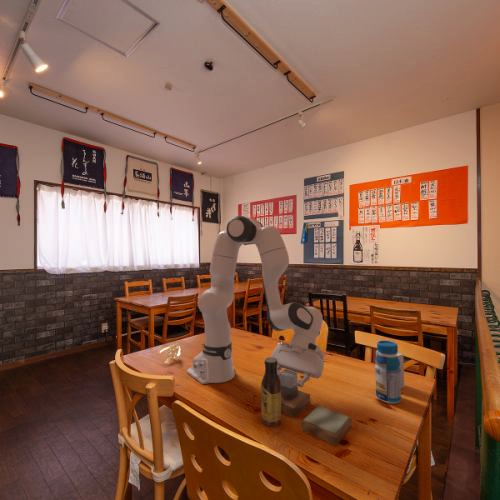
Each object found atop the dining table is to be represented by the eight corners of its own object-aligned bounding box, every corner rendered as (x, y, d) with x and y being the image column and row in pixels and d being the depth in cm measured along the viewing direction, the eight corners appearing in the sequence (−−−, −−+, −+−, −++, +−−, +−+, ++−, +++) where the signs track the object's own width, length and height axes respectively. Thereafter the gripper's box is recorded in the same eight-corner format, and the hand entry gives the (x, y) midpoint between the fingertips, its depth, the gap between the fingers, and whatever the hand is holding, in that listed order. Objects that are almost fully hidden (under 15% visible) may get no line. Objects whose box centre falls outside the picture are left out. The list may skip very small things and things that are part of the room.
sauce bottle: (260, 416, 90) (259, 355, 90) (279, 415, 91) (278, 354, 91) (263, 428, 84) (262, 363, 84) (283, 427, 84) (282, 362, 84)
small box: (404, 387, 107) (404, 354, 108) (393, 391, 105) (393, 357, 105) (386, 379, 115) (385, 348, 115) (375, 382, 112) (375, 350, 112)
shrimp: (156, 370, 134) (152, 355, 131) (171, 348, 147) (168, 334, 144) (177, 372, 131) (173, 357, 128) (191, 350, 144) (187, 336, 141)
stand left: (266, 405, 96) (266, 397, 96) (284, 393, 105) (284, 385, 105) (294, 417, 89) (293, 408, 89) (310, 403, 98) (310, 394, 98)
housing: (279, 395, 97) (279, 373, 97) (285, 391, 100) (285, 369, 100) (291, 400, 94) (291, 377, 94) (297, 395, 97) (297, 373, 97)
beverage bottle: (400, 407, 94) (399, 348, 94) (373, 400, 99) (372, 344, 99) (402, 396, 101) (401, 341, 101) (377, 390, 106) (376, 338, 106)
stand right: (301, 429, 83) (301, 419, 83) (318, 413, 91) (317, 404, 91) (336, 446, 76) (336, 435, 76) (351, 426, 84) (351, 416, 84)
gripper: (275, 337, 109) (260, 370, 102) (323, 348, 96) (310, 387, 89) (281, 345, 113) (268, 378, 105) (329, 357, 100) (317, 395, 92)
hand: (288, 382), depth 97 cm, fingers open, 8 cm apart
